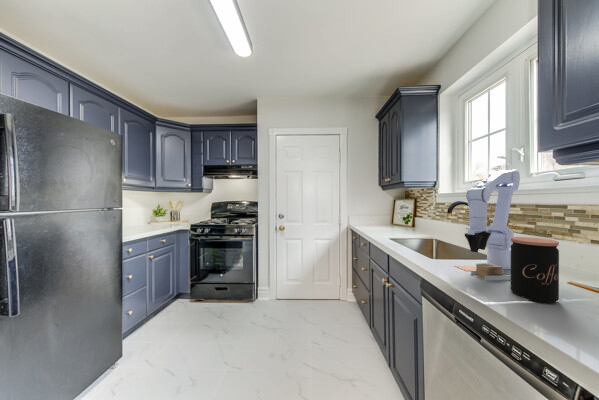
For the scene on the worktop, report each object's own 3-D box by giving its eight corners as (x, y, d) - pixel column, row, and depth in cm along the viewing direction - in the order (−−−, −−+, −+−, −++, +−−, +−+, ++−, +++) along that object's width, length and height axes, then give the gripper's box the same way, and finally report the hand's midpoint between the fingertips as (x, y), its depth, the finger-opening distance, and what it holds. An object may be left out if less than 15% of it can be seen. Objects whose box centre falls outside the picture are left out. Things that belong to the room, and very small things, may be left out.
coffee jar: (520, 301, 70) (520, 241, 70) (504, 288, 80) (504, 236, 80) (568, 307, 66) (568, 244, 66) (545, 293, 76) (545, 238, 76)
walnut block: (490, 274, 93) (490, 263, 93) (502, 278, 88) (502, 267, 88) (476, 275, 92) (476, 263, 92) (487, 279, 87) (487, 267, 87)
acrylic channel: (502, 274, 94) (502, 269, 94) (520, 281, 87) (520, 275, 87) (470, 275, 93) (470, 270, 93) (485, 282, 86) (485, 276, 86)
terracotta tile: (471, 267, 105) (471, 265, 105) (484, 272, 98) (484, 270, 98) (454, 267, 104) (454, 265, 104) (466, 272, 97) (466, 270, 97)
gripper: (473, 215, 103) (473, 246, 103) (459, 217, 94) (459, 251, 94) (493, 216, 97) (493, 249, 97) (480, 218, 88) (480, 254, 89)
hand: (478, 250), depth 95 cm, fingers open, 7 cm apart
